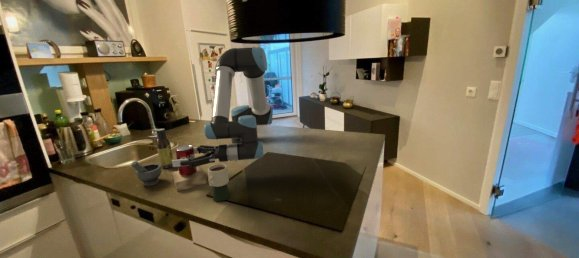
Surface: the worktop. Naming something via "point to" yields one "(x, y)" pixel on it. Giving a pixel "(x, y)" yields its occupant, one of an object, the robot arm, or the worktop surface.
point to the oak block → (189, 179)
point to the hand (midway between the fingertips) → (177, 157)
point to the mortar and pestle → (147, 173)
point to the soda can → (185, 153)
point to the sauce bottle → (164, 149)
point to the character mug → (219, 181)
